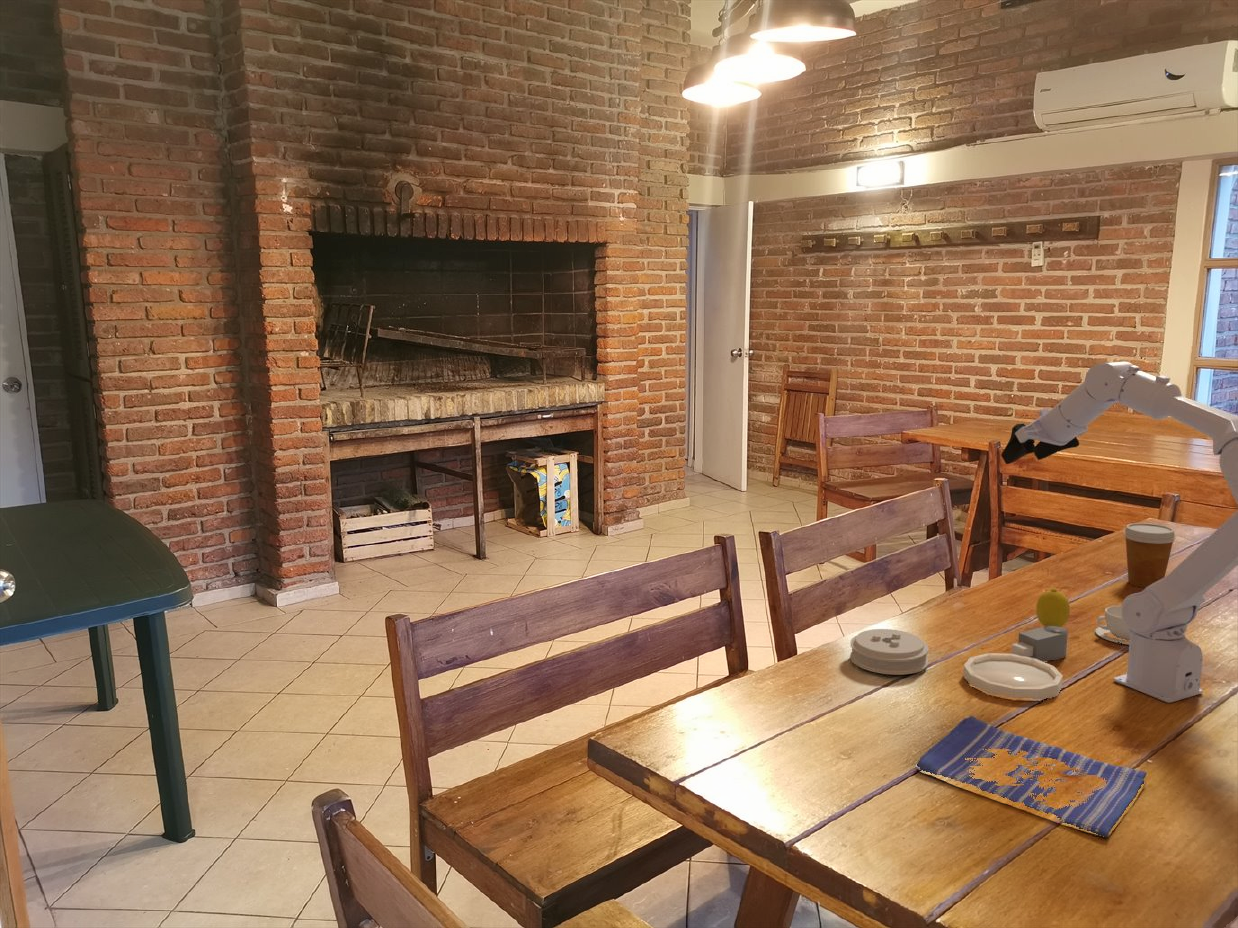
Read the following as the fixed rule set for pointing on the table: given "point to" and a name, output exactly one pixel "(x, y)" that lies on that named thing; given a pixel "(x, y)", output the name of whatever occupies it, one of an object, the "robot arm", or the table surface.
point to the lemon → (1053, 608)
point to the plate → (1013, 676)
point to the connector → (1042, 643)
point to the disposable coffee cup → (1147, 552)
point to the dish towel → (981, 735)
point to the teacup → (1113, 625)
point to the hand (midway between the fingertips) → (1020, 457)
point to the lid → (889, 652)
